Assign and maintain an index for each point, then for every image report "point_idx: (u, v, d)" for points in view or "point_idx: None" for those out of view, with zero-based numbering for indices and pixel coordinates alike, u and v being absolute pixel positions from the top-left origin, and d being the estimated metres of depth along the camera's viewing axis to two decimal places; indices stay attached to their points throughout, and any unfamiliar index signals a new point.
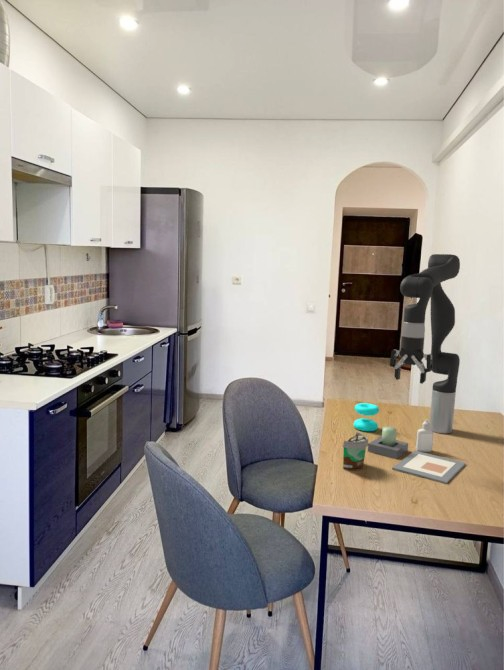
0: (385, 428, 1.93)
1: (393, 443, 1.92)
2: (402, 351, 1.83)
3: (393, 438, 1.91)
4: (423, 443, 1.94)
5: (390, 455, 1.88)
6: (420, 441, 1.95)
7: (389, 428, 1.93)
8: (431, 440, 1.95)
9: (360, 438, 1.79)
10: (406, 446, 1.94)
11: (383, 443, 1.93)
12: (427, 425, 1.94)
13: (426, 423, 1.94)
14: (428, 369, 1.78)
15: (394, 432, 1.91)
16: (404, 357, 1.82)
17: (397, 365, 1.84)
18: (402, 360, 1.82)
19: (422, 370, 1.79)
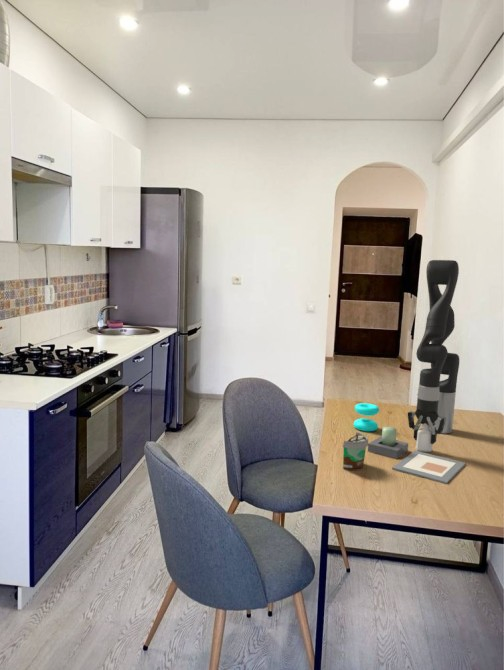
0: (385, 428, 1.93)
1: (393, 443, 1.92)
2: (417, 411, 1.96)
3: (393, 438, 1.91)
4: (423, 443, 1.94)
5: (390, 455, 1.88)
6: (420, 441, 1.95)
7: (389, 428, 1.93)
8: None
9: (360, 438, 1.79)
10: (406, 446, 1.94)
11: (383, 443, 1.93)
12: (427, 425, 1.94)
13: None
14: (438, 431, 1.91)
15: (394, 432, 1.91)
16: (420, 418, 1.94)
17: (416, 427, 1.96)
18: (419, 421, 1.95)
19: (433, 432, 1.93)
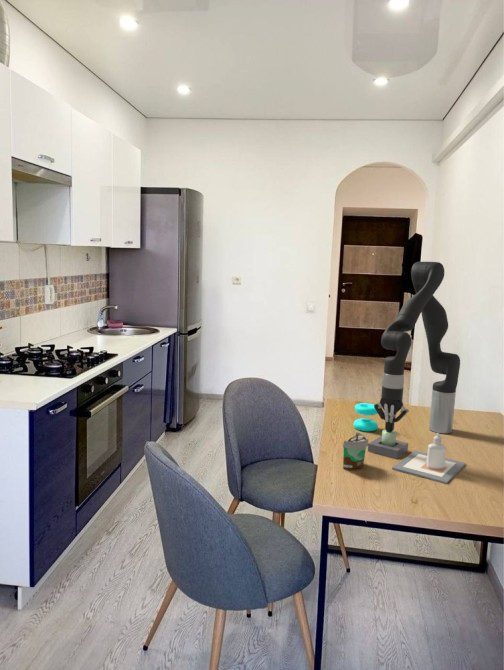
0: (385, 431, 1.93)
1: (393, 446, 1.92)
2: (381, 400, 1.93)
3: (393, 441, 1.92)
4: (434, 460, 1.76)
5: (390, 455, 1.88)
6: (431, 457, 1.76)
7: None
8: (443, 456, 1.76)
9: (360, 438, 1.79)
10: (406, 446, 1.94)
11: None
12: (439, 440, 1.75)
13: (438, 437, 1.76)
14: (396, 419, 1.90)
15: (394, 435, 1.91)
16: (385, 407, 1.91)
17: (387, 418, 1.92)
18: (386, 410, 1.92)
19: (390, 420, 1.91)
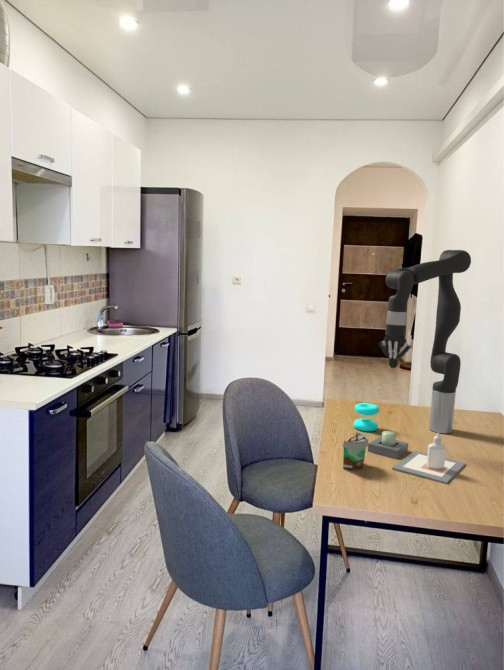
0: (385, 433, 1.93)
1: None
2: (385, 337, 2.03)
3: (393, 443, 1.92)
4: (434, 460, 1.76)
5: (390, 455, 1.88)
6: (431, 457, 1.76)
7: (389, 433, 1.94)
8: (443, 456, 1.76)
9: (360, 438, 1.79)
10: (406, 446, 1.94)
11: None
12: (439, 440, 1.75)
13: (438, 437, 1.76)
14: (399, 355, 2.00)
15: (394, 437, 1.92)
16: (389, 343, 2.01)
17: (391, 354, 2.02)
18: (390, 347, 2.01)
19: (394, 356, 2.01)
